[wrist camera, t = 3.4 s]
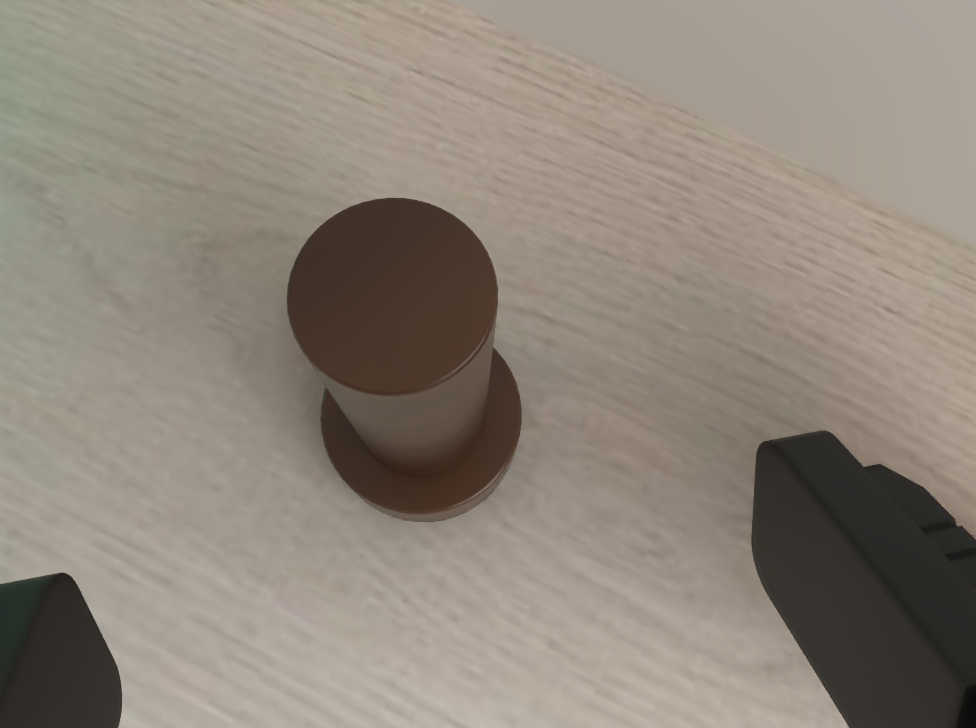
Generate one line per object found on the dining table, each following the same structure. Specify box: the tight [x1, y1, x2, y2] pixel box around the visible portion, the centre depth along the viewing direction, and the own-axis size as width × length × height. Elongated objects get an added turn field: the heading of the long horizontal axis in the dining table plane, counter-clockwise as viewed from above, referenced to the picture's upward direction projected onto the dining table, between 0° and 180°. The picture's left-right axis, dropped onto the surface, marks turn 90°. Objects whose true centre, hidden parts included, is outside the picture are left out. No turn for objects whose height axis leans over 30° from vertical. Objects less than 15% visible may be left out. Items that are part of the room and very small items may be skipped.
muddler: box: [287, 198, 521, 522], centre depth 16 cm, size 4×4×10 cm
